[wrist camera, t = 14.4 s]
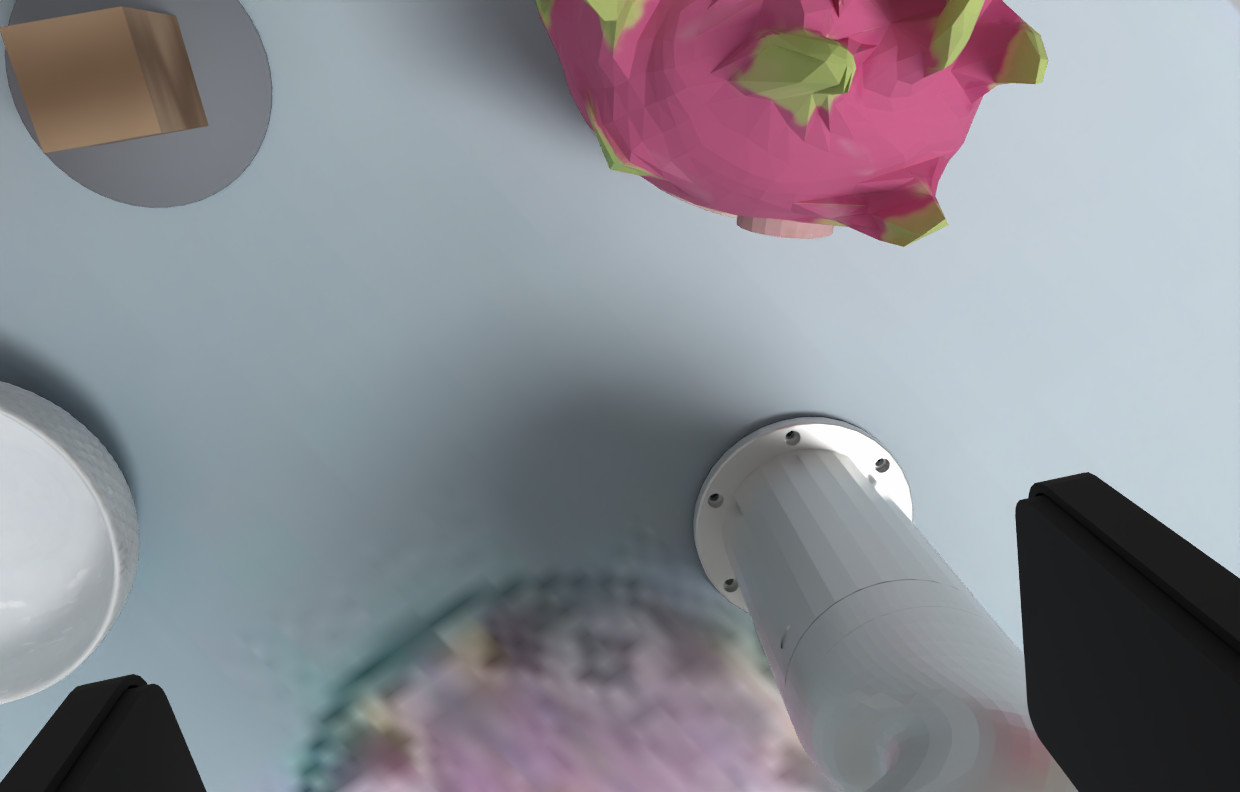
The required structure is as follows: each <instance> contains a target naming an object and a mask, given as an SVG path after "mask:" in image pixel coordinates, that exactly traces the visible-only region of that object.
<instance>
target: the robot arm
mask: <svg viewBox="0 0 1240 792" xmlns="http://www.w3.org/2000/svg"><path fill="white" fill-rule="evenodd" d="M790 431H793V434H792V435H791V436H786V434H787V433H788V432H790ZM879 459H881V460H880V462H878V463H876V462H877V460H879ZM713 494H717V496H716V497H714V498H711V497H710V496H711V495H713ZM1015 516H1016V532H1017V548H1018V564H1019V580H1020V596H1021V612H1022V628H1023V644H1024V654H1023V653H1022V652H1021V650H1020V649H1019V648H1018V647H1017V646H1016V645H1015V644H1014V643H1013V642H1012V640H1011V639H1010V638H1009V637H1008V636H1007V635H1006V634H1005V632H1004V631H1003V630H1002V629H1001V628H1000V627H999V625H998V624H997V623H996V622H995V621H994V619H993V618H992V617H991V616H990V615H989V613H988V612H987V611H986V610H985V609H984V607H983V606H982V605H981V604H980V603H979V601H978V600H977V599H976V598H975V597H974V596H973V594H972V593H971V592H970V591H969V589H968V588H967V587H966V586H965V585H964V583H963V582H962V581H961V580H960V579H959V578H958V576H957V575H956V574H955V573H954V572H953V570H952V569H951V568H950V567H949V566H948V564H947V563H946V562H945V561H944V560H943V558H942V557H941V556H940V555H939V554H938V553H937V551H936V550H935V549H934V548H933V547H932V545H931V544H930V543H929V542H928V541H927V539H926V538H925V537H924V536H923V535H922V533H921V532H920V531H919V530H918V529H917V528H916V526H915V525H914V524H913V501H912V496H911V491H910V487H909V483H908V481H907V479H906V477H905V474H904V472H903V470H902V468H901V466H900V465H899V464H898V462H897V461H896V460H895V458H894V457H893V456H892V454H891V453H890V452H889V451H888V450H887V449H886V448H885V447H884V446H883V445H882V444H881V443H880V442H879V441H878V440H877V439H875V438H874V437H873V436H871V435H870V434H868V433H867V432H865V431H864V430H862V429H860V428H858V427H855V426H853V425H851V424H848V423H846V422H843V421H839V420H834V419H829V418H824V417H800V418H794V419H788V420H782V421H779V422H776V423H773V424H770V425H767V426H765V427H762V428H760V429H758V430H756V431H754V432H753V433H751V434H749V435H747V436H746V437H744V438H742V439H741V440H740V441H738V442H737V443H736V444H735V445H734V446H732V447H731V448H730V449H729V450H727V451H726V452H725V453H724V455H723V456H722V457H721V458H720V459H719V460H718V462H717V463H716V464H715V465H714V466H713V467H712V469H711V471H710V473H709V474H708V476H707V478H706V480H705V481H704V483H703V485H702V487H701V490H700V493H699V496H698V499H697V502H696V505H695V513H694V521H693V528H694V541H695V545H696V549H697V552H698V556H699V559H700V561H701V564H702V566H703V568H704V571H705V573H706V575H707V577H708V578H709V579H710V581H711V582H712V584H713V585H714V587H715V588H716V589H717V590H718V591H719V592H720V593H721V594H722V595H723V596H724V597H725V598H726V599H727V600H728V601H729V602H731V603H732V604H734V605H735V606H737V607H739V608H740V609H742V610H744V611H745V612H747V613H750V616H751V618H752V621H753V624H754V626H755V629H756V631H757V634H758V636H759V639H760V642H761V644H762V647H763V649H764V652H765V655H766V657H767V660H768V662H769V665H770V667H771V670H772V673H773V675H774V678H775V680H776V683H777V685H778V688H779V691H780V693H781V696H782V698H783V701H784V703H785V706H786V709H787V711H788V714H789V716H790V719H791V721H792V724H793V726H794V729H795V731H796V734H797V736H798V738H799V740H800V743H801V744H802V746H803V748H804V750H805V752H806V753H807V755H808V757H809V758H810V759H811V761H812V762H813V763H814V764H815V766H816V767H817V768H818V770H819V771H820V772H821V773H822V774H823V775H824V776H825V777H826V778H827V779H828V780H829V781H830V782H831V783H832V784H833V785H834V786H836V787H837V788H838V789H839V790H840V791H842V792H1240V578H1238V577H1237V576H1235V575H1234V574H1233V573H1231V572H1230V571H1228V570H1227V569H1226V568H1224V567H1223V566H1221V565H1220V564H1219V563H1217V562H1216V561H1214V560H1213V559H1212V558H1210V557H1209V556H1207V555H1206V554H1205V553H1203V552H1202V551H1200V550H1199V549H1198V548H1196V547H1195V546H1193V545H1192V544H1191V543H1189V542H1188V541H1186V540H1185V539H1184V538H1182V537H1181V536H1179V535H1178V534H1177V533H1175V532H1174V531H1172V530H1171V529H1170V528H1168V527H1167V526H1165V525H1164V524H1163V523H1161V522H1160V521H1158V520H1157V519H1156V518H1154V517H1153V516H1151V515H1150V514H1148V513H1147V512H1146V511H1144V510H1143V509H1141V508H1140V507H1139V506H1137V505H1136V504H1134V503H1133V502H1132V501H1130V500H1129V499H1127V498H1126V497H1125V496H1123V495H1122V494H1120V493H1119V492H1118V491H1116V490H1115V489H1113V488H1112V487H1111V486H1109V485H1108V484H1106V483H1105V482H1104V481H1102V480H1101V479H1099V478H1098V477H1097V476H1095V475H1093V474H1091V473H1089V472H1087V473H1081V474H1076V475H1071V476H1067V477H1062V478H1057V479H1052V480H1048V481H1043V482H1038V483H1034V485H1033V486H1032V487H1031V489H1030V492H1029V498H1027V499H1023V500H1020V501H1019V502H1018V503H1017V506H1016V515H1015ZM729 579H731V580H730V581H726V580H729ZM0 792H206V789H205V787H204V785H203V782H202V780H201V778H200V775H199V773H198V770H197V768H196V766H195V763H194V761H193V758H192V756H191V754H190V751H189V749H188V746H187V744H186V742H185V739H184V737H183V735H182V732H181V730H180V727H179V725H178V723H177V720H176V718H175V715H174V713H173V711H172V708H171V706H170V704H169V701H168V699H167V696H166V695H165V693H164V691H163V689H162V688H161V687H160V686H158V685H156V684H150V685H148V684H147V683H146V681H144V680H143V679H142V678H141V677H140V676H138V675H134V674H132V675H127V676H122V677H118V678H113V679H108V680H104V681H99V682H94V683H89V684H85V685H81V686H77V687H76V688H75V689H74V690H73V691H72V692H70V694H69V695H68V696H67V698H66V699H65V700H64V701H63V703H62V704H61V705H60V707H59V708H58V709H57V710H56V712H55V713H54V714H53V716H52V717H51V718H50V719H49V721H48V722H47V723H46V725H45V726H44V727H43V729H42V730H41V731H40V732H39V734H38V735H37V736H36V738H35V739H34V740H33V741H32V743H31V744H30V745H29V747H28V748H27V749H26V750H25V752H24V753H23V754H22V756H21V757H20V758H19V760H18V761H17V762H16V763H15V765H14V766H13V767H12V769H11V770H10V771H9V772H8V774H7V775H6V776H5V778H4V779H3V780H2V781H1V783H0Z"/></svg>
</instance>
